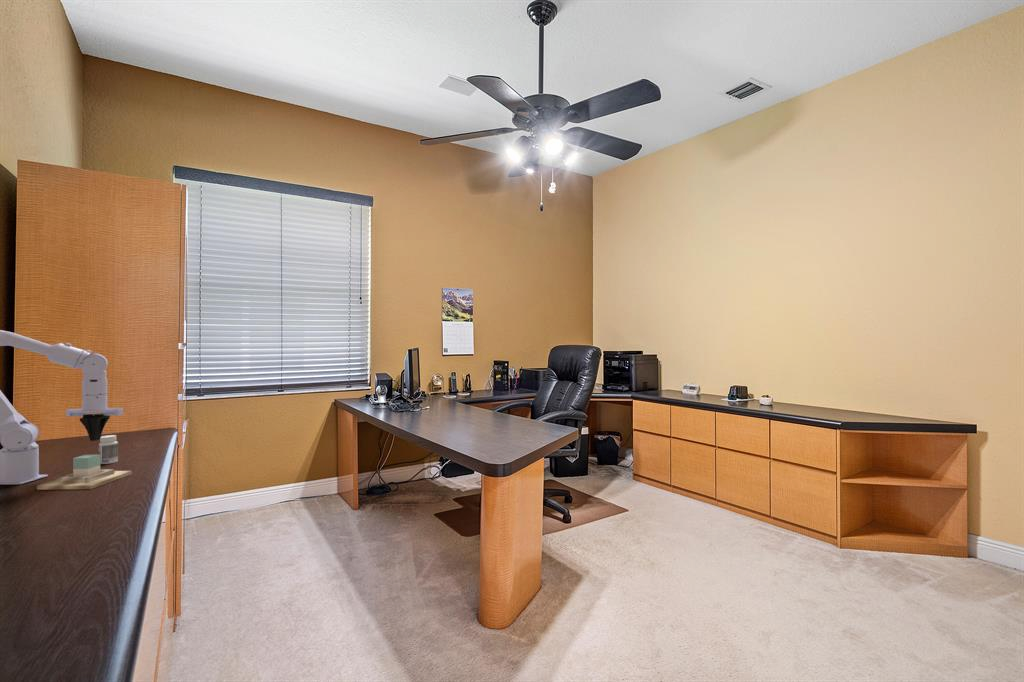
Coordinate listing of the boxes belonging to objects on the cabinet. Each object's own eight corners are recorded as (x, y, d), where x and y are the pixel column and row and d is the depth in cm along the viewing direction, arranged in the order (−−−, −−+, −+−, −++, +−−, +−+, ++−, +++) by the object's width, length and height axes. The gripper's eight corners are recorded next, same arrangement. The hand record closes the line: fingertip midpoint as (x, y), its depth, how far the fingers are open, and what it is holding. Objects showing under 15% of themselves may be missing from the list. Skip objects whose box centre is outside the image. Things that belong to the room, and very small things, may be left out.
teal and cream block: (73, 479, 132) (73, 458, 132) (85, 475, 136) (85, 454, 136) (88, 479, 132) (88, 457, 132) (100, 475, 136) (100, 454, 136)
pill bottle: (122, 460, 157) (121, 434, 157) (108, 464, 152) (108, 437, 152) (108, 460, 157) (108, 434, 157) (94, 464, 153) (94, 437, 153)
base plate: (36, 489, 127) (36, 481, 127) (83, 474, 141) (83, 466, 141) (91, 489, 127) (90, 480, 127) (131, 474, 141) (131, 466, 141)
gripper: (57, 396, 139) (57, 443, 139) (111, 395, 140) (111, 442, 141) (76, 393, 146) (76, 438, 146) (128, 392, 148) (128, 437, 148)
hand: (95, 440), depth 144 cm, fingers closed
